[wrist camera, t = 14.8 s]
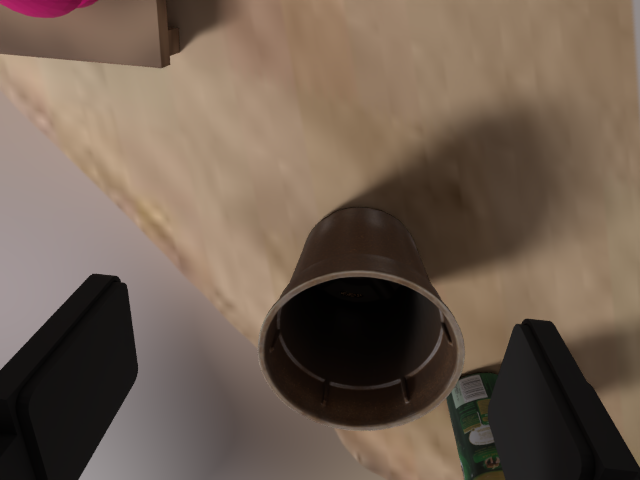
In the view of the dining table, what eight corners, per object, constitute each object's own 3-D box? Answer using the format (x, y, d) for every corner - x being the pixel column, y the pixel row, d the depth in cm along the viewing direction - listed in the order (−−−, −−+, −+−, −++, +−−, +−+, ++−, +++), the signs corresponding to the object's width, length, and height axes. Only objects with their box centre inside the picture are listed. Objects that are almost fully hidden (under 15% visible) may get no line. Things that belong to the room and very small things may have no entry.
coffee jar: (521, 417, 61) (581, 575, 44) (460, 431, 63) (494, 588, 46) (502, 361, 57) (560, 512, 41) (437, 378, 59) (466, 528, 43)
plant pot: (430, 321, 55) (454, 437, 41) (290, 318, 57) (265, 429, 42) (442, 188, 48) (476, 273, 33) (280, 188, 49) (247, 269, 35)
